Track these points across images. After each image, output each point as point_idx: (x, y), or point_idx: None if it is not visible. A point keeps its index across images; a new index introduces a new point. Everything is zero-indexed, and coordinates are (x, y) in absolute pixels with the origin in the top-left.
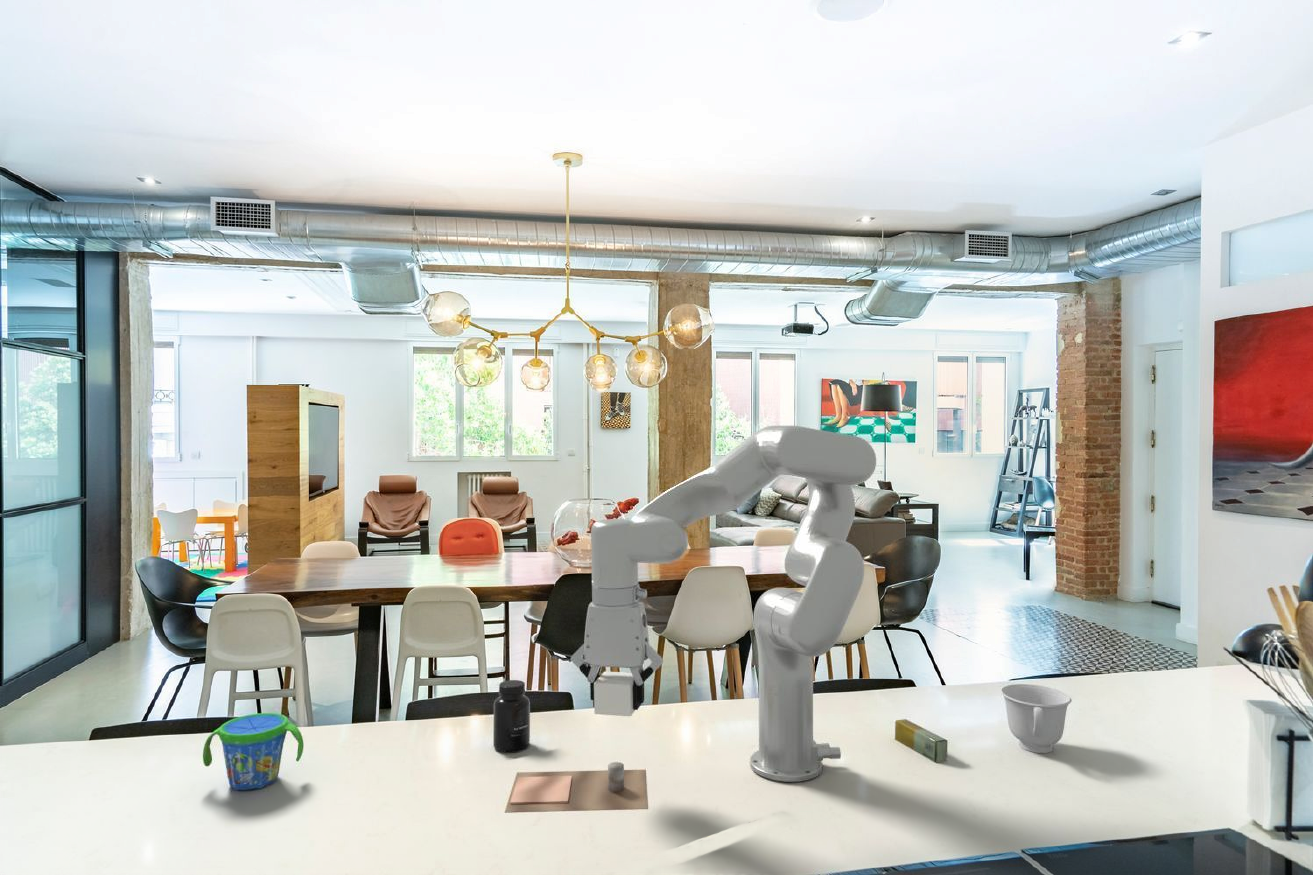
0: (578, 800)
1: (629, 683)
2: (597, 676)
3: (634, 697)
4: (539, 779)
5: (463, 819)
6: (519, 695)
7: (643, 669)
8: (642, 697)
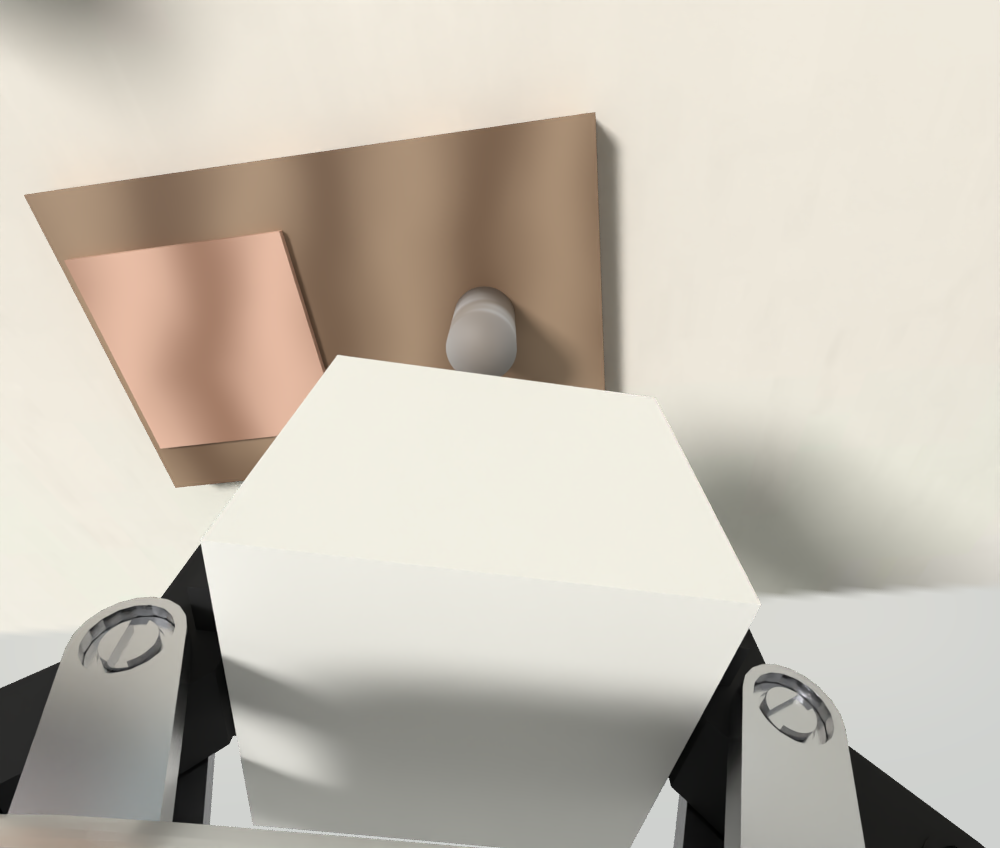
0: None
1: (616, 836)
2: (207, 721)
3: None
4: (163, 276)
5: (66, 465)
6: None
7: (851, 824)
8: None
